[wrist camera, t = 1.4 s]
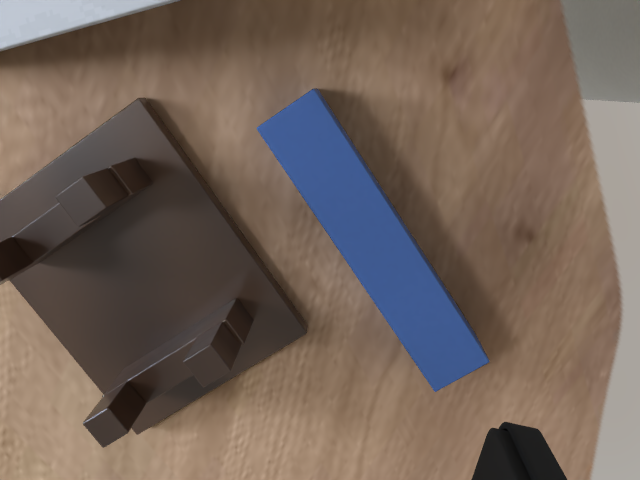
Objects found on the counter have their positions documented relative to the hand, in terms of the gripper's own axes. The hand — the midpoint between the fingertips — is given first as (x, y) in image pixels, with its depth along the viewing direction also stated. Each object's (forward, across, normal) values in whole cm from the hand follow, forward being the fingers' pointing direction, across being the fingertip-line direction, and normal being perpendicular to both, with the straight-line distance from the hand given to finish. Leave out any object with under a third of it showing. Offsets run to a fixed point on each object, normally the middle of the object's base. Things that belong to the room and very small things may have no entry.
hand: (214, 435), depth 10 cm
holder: (+21, +8, +6) cm, 23 cm away
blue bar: (+21, -4, +1) cm, 22 cm away
